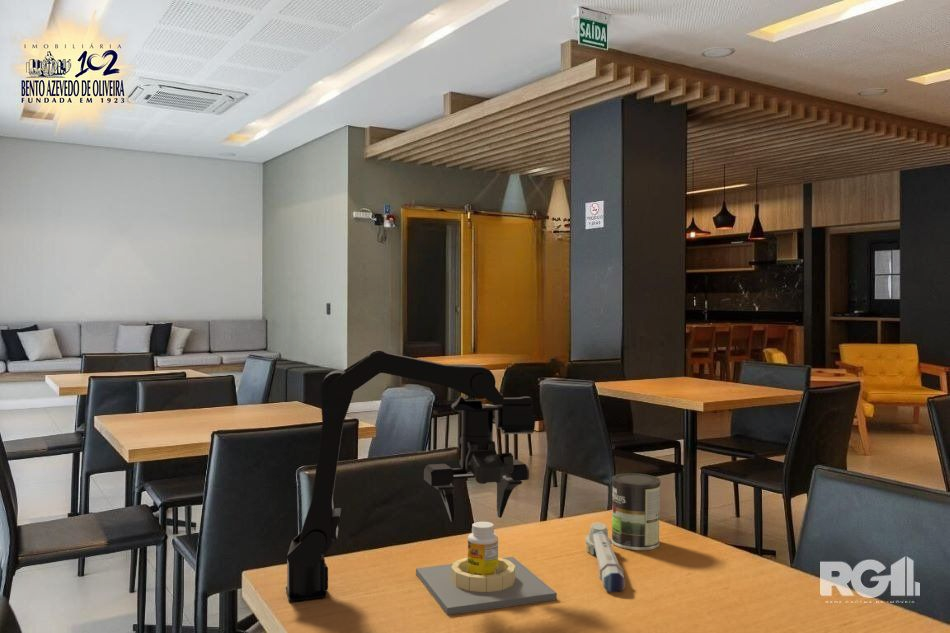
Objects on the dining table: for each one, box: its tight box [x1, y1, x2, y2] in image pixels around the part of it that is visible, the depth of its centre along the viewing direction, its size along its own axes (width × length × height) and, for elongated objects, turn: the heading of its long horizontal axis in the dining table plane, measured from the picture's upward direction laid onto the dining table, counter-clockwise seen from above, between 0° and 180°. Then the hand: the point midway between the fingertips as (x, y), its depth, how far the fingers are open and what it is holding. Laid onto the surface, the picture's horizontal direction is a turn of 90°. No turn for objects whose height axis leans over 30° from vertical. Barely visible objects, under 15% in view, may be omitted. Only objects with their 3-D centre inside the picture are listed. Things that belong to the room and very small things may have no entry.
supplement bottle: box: [467, 521, 499, 576], centre depth 137 cm, size 6×6×10 cm
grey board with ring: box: [415, 556, 558, 616], centre depth 138 cm, size 20×20×4 cm
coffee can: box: [611, 472, 661, 552], centre depth 163 cm, size 10×10×14 cm
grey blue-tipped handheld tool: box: [584, 521, 626, 593], centre depth 148 cm, size 5×7×25 cm
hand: (476, 519), depth 138 cm, fingers open, 9 cm apart
